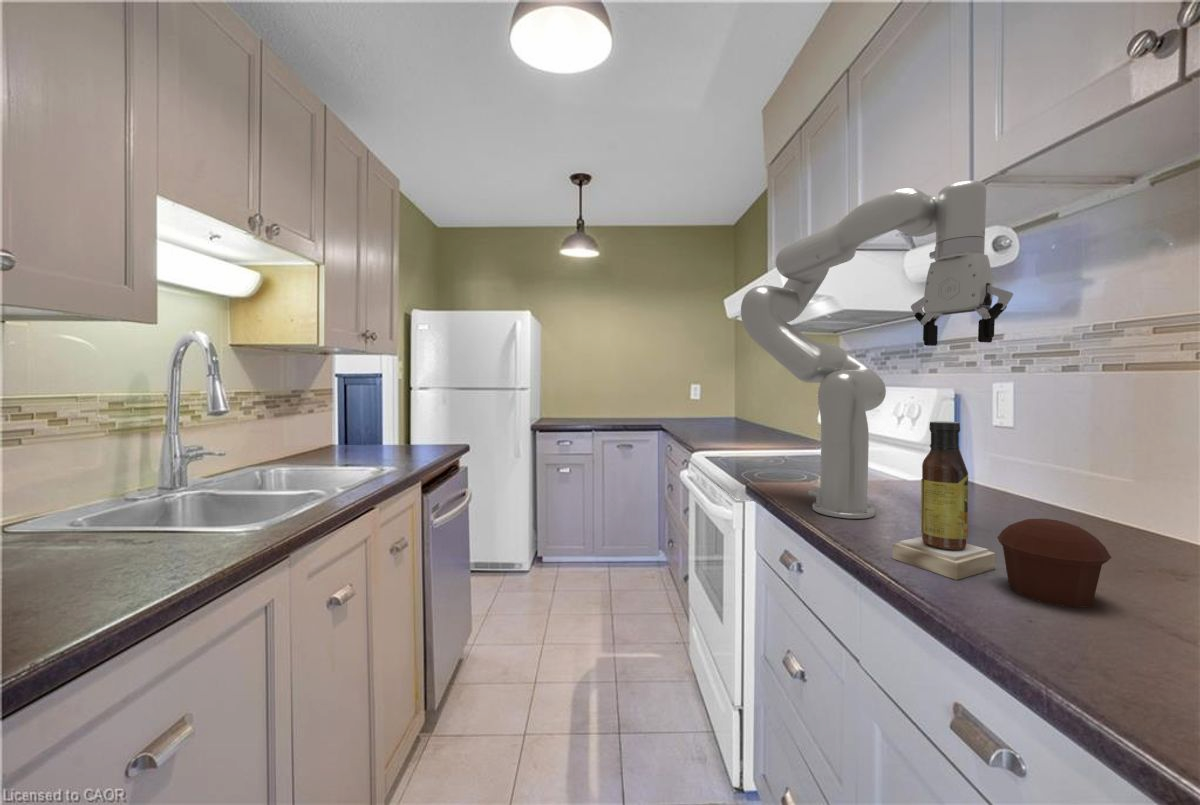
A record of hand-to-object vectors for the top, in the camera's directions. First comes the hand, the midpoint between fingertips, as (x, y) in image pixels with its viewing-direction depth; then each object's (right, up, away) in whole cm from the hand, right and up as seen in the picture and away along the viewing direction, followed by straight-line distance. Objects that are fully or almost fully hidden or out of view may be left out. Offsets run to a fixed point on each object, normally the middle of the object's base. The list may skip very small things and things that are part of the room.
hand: (956, 343), depth 96 cm
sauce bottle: (-12, -34, -14) cm, 39 cm away
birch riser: (-12, -37, -14) cm, 41 cm away
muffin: (-5, -38, -25) cm, 46 cm away
